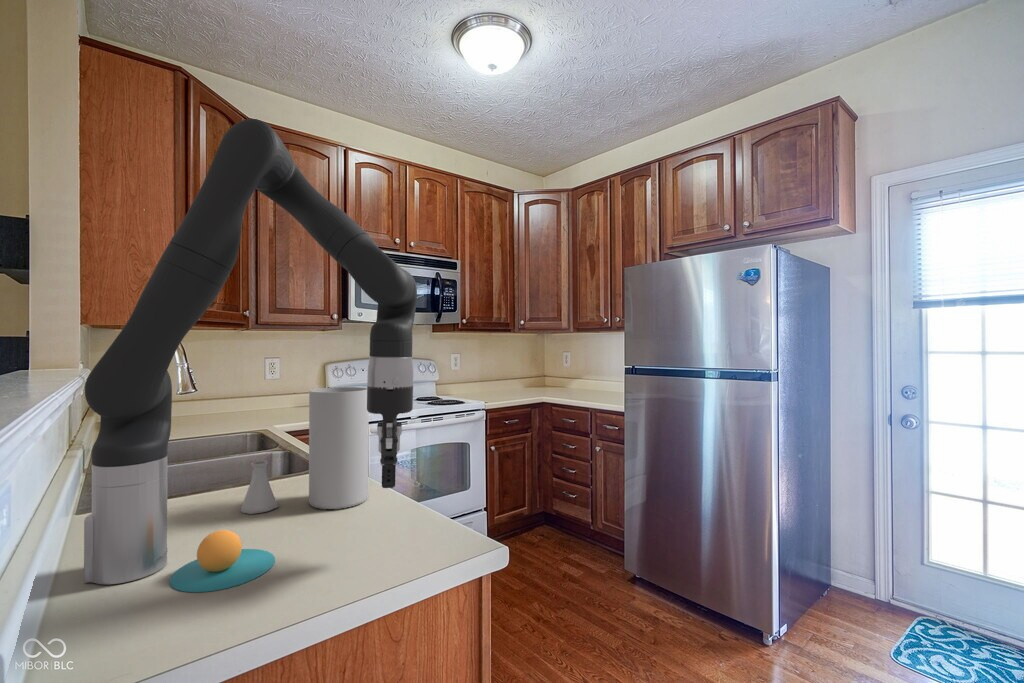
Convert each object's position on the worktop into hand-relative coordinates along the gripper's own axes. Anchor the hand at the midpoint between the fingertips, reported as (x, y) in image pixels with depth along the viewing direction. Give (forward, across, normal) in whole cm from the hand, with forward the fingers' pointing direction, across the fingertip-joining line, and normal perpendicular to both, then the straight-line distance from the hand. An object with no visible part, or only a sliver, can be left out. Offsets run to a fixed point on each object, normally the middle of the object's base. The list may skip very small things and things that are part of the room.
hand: (388, 486), depth 81 cm
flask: (+12, -29, -27) cm, 41 cm away
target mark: (+12, 0, -25) cm, 27 cm away
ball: (+9, 0, -25) cm, 27 cm away
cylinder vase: (+12, -30, -11) cm, 34 cm away
